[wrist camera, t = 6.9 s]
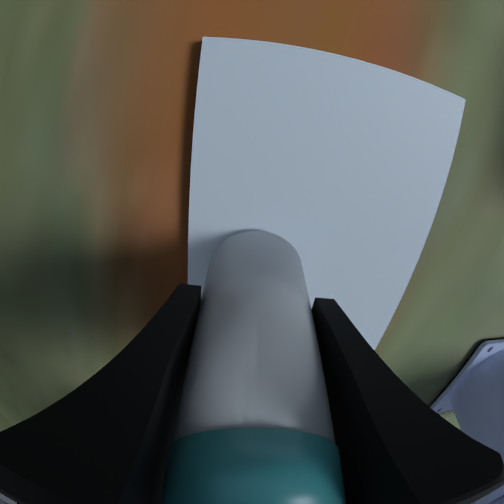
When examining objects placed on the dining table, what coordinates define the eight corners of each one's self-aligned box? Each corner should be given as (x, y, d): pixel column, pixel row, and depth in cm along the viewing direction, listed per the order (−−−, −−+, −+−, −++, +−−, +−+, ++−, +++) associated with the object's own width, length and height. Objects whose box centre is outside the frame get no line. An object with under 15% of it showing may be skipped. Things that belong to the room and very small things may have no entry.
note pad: (456, 97, 8) (466, 99, 8) (364, 354, 15) (367, 363, 14) (206, 39, 8) (202, 36, 7) (190, 343, 15) (188, 352, 14)
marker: (313, 237, 11) (382, 500, 3) (291, 313, 12) (313, 530, 5) (211, 222, 10) (146, 498, 3) (204, 302, 12) (167, 524, 5)
